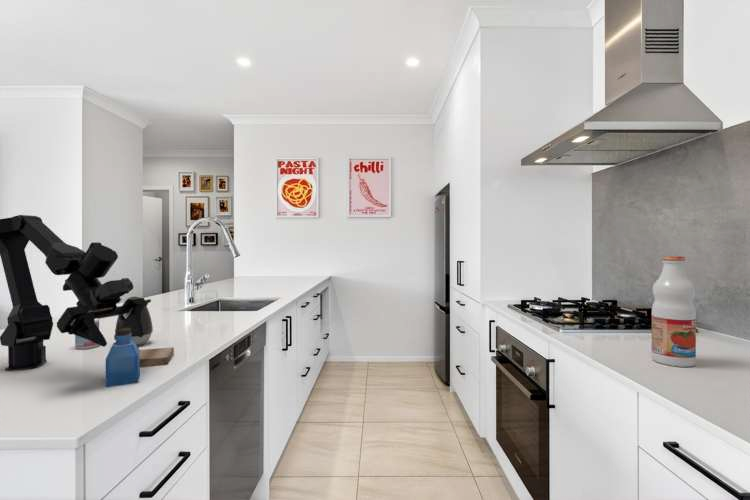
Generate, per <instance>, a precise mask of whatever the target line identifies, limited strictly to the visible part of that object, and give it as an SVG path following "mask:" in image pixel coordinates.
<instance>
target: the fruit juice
mask: <svg viewBox="0 0 750 500" xmlns="http://www.w3.org/2000/svg"><path fill="white" fill-rule="evenodd" d="M661 263H662V264H663V266H662V270H661V273H660V275H659V277H658V278H657V279H656V281H655V282H654V283H653V285H652V294H653V297H654V300H653V303H652V307H651V350H650V351H651V353H650V354H651V359H652V361H654V362H656V363H657V364H662V365H666V366H672V367H680V368H690V367H694V366H695V365H696V362H697V361H696V357H697V355H696V353H697V352H696V351H697V346H696V344H697V339H696V338H697V331H696V330H697V325H696V324H697V312H696V307H695V305H694V299H695V297H696V287H695V285H694V283H693V282H692V281H691V280H690V279H689V277H688V276H687V272H686V270H685V263H686V257H685V256H678V255H677V256H676V255H675V256H673V255H668V256H667V255H666V256H664V255H663V256H662V258H661Z"/></svg>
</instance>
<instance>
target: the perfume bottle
mask: <svg viewBox="0 0 750 500" xmlns="http://www.w3.org/2000/svg"><path fill="white" fill-rule="evenodd" d="M130 331H131V328H119V329H116V328H114V332H116V335H115V334H114V335H113V337H114V338H113V339H114V341H115V342H113V343H112V346H111V348H110V350H109V351H108V353H107V355H106V358H105V388H109V387H110V388H111V387H116V386H118V387H119V386H125V385H130V384H131V385H132V384H137V383H139V380H140V378H141V377H140V376H141V370H140V369H141V367H140V350H141V349H140V348H139V346H137V345H136V343H135V342H134V341H130V338H132V333H130Z"/></svg>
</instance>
